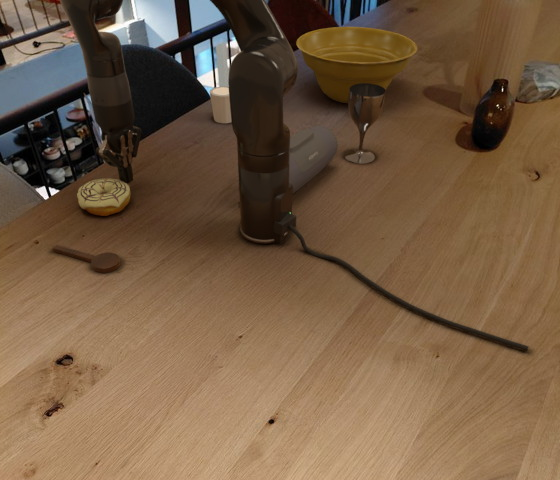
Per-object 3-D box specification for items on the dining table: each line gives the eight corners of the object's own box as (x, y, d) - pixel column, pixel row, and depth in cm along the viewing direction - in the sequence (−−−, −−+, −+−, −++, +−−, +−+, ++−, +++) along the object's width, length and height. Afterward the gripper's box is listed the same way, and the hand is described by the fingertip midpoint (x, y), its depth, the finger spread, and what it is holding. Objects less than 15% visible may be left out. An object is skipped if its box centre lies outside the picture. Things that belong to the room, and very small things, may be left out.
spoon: (126, 260, 104) (125, 256, 103) (110, 275, 101) (108, 271, 100) (63, 243, 108) (62, 238, 107) (46, 257, 105) (44, 252, 104)
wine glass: (338, 160, 133) (344, 93, 122) (348, 146, 138) (355, 81, 127) (371, 166, 131) (380, 99, 120) (380, 152, 136) (389, 86, 125)
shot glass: (234, 125, 146) (232, 97, 141) (208, 122, 147) (206, 94, 142) (240, 114, 151) (239, 87, 146) (215, 112, 152) (213, 84, 147)
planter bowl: (333, 67, 177) (337, 18, 167) (428, 91, 164) (437, 39, 154) (272, 99, 159) (272, 45, 149) (373, 128, 146) (380, 72, 136)
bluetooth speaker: (248, 153, 113) (249, 199, 120) (288, 165, 110) (287, 211, 117) (304, 114, 126) (302, 158, 134) (341, 124, 123) (338, 168, 130)
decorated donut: (75, 218, 114) (71, 201, 111) (85, 192, 121) (80, 175, 119) (128, 217, 114) (124, 200, 112) (134, 191, 122) (131, 174, 119)
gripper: (106, 112, 103) (123, 199, 115) (147, 88, 111) (159, 171, 124) (72, 105, 105) (93, 191, 117) (115, 81, 113) (130, 164, 126)
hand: (127, 181), depth 121 cm, fingers closed
